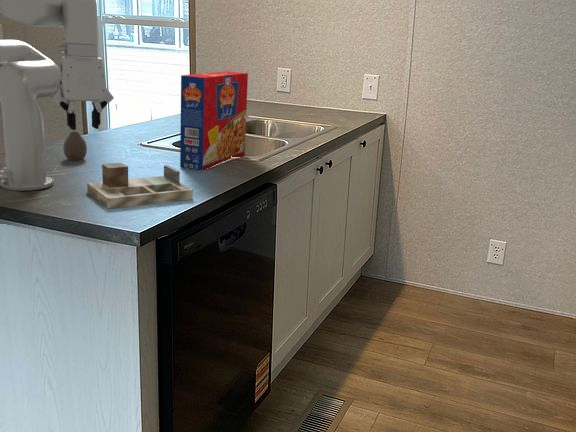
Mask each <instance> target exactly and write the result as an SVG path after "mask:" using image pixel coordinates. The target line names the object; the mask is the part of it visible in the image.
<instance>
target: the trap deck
mask: <svg viewBox="0 0 576 432" xmlns="http://www.w3.org/2000/svg"><path fill="white" fill-rule="evenodd" d="M180 177H181V176H180V171H179V170H177V169H176V168H173V167H172V166H170V165H168V164H163V175H161V176H151V177H137V178H136V177H135V178H128V186H120V187H110V188H109V187H108V186H106V185H105V184H104V183H103V180H102V181H90V182H86V184H87V185H86V186H87V193H88V194H89V195H91V196H92V197H93V198H94V199H96V201H98V202H99V203H100V204H102V205H103V206H104V207H106V208H107V210H109V209H115V208H116V209H118V208H126V207H127V208H128V207H136V206H143V205H152V204H154V205H155V204H163V203H171V202H178V201H179V200H181V201H189V199H190V200H193V199H194V198H193V197H194V195H193V192H194V190H193V189H192V188H190V187H188V186H187V185H185V184H183V183H181V182H180V180H181V179H180ZM179 202H180V201H179Z"/></svg>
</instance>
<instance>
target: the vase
mask: <svg viewBox="0 0 576 432" xmlns="http://www.w3.org/2000/svg"><path fill="white" fill-rule="evenodd" d="M87 145H88V144H87V142H86V141H85V139H84V138H83V137H82V135H81V134H80V132H79V131H77V130H72V131H70V133H69V134H68V136H67V137H66V138H65V140H64V143H63V145H62V146H63V147H62V148H63V154H64V156H65V157H66V159H67V160H69V161H72V162H80V161H82V160H84V159H85V158H86V155H87V154H88V153H87V151H88V150H87V149H88V147H87Z"/></svg>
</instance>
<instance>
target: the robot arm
mask: <svg viewBox="0 0 576 432" xmlns="http://www.w3.org/2000/svg"><path fill="white" fill-rule="evenodd" d="M0 13H1V15H2V16H4V17H5V18H8V19H9V20H12V21H15V22H18V23H21V24H23V25H26V26H30V27H37V28H38V27H40V28H41V27H43V28H45V27H46V28H63V43H62V45H58V46H57V51H58V52H61V53H63V55H64V56H62V57H61V62H60V67H59V66H58V64H56V62H54V61H53V60H52V59H50V58H49V57H47V56H46V55H44V54H42V53H41V52H40V51H39V50H37V49H36V48H34V47H32V45H30V44H28V43H26V42H24V41H22V40H18V39H12V38H11V39H9V38H8V39H5V38H3V39H2V38H0V106H1V114H2V126H3V137H4V139H3V140H4V150H5V152H4V153H5V165H6V166H3V169H2V170H0V186H1V187H2V188H3V189H6V190H11V191H20V192H21V191H22V192H23V191H24V192H26V191H38V190H43V189H44V190H45V189H47V188H51V187H52V186H53V184H54V181H53V178H52V177H49V176H47V163H46V162H47V160H46V145H45V144H46V142H45V140H46V139H45V125H44V116H43V112H42V110H41V108H40V106H39V104H38V103H37V100H38V99H46V98H50V99H51V101H52V102H54V103H56V104H57V105H58V106H60V107H61V108H62V109H63V110H64V111H65V112H66V125H67V126H68V127H69V129H70V130H72V131H76V129H77V122H76V121H77V120H76V119H77V118H76V113H75V112H74V109H75V105H76V102H88V101H89V102H91V106H92V108H93V109H92V111H91V127H92V128H94V129H95V130H99V128H100V125H101V113H102V111H103V110H104V108H105V107H106V106H107V105H108V104H110V102H112V101H113V100H114V99H115V98H114V96H113V94H112V93H111V92H110V91H109V90H108V88H107V81H106V72H105V67H104V62H103V59H102V58H101V57H99V41H98V39H99V35H98V5H97V1H96V0H0ZM61 98H62V99H65V100H66V101H64V100H62V99H61ZM36 99H37V100H36Z"/></svg>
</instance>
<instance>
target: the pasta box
mask: <svg viewBox="0 0 576 432" xmlns="http://www.w3.org/2000/svg"><path fill="white" fill-rule="evenodd" d="M248 80H249V73H248V72H241V71H240V72H239V71H228V70H225V71H215V72H203V73H192V74H183V75H180V140H179V142H180V146H179V147H180V150H179V152H180V158H179V160H180V161H179V162H180V163H179V164H180V165H179V167H182V168H181V169H186V168H188V170H192V169H196V170H195V171H198V170H205V169H207V168H210V167H212V166H214V165H216V164H219V163H221V162H223V161H226V160H228V159H230V158H231V156H232V157H241V158H243V157H245V156H246V154H245V153H246V135H247V134H246V132H247V131H246V130H247V129H246V128H247V108H248V107H247V105H248ZM210 169H211V168H210ZM207 170H208V169H207ZM205 171H206V170H205Z"/></svg>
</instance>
